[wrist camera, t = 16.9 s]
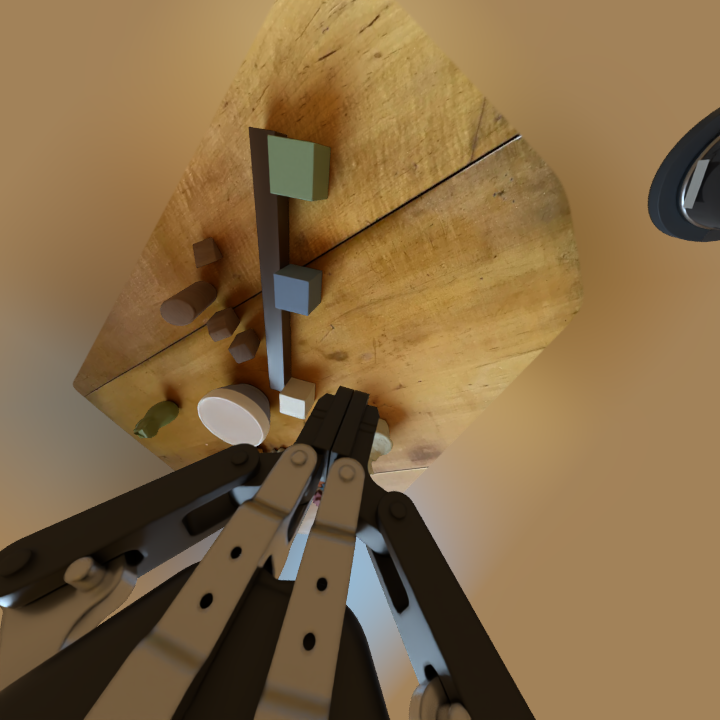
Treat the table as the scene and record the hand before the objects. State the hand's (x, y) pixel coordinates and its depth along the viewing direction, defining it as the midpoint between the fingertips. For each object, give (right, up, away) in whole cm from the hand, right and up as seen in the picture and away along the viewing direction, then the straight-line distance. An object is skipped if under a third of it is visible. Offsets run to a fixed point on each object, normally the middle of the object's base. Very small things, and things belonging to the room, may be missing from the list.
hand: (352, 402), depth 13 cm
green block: (-6, +25, +18) cm, 31 cm away
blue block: (-8, +14, +27) cm, 31 cm away
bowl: (-24, -6, +45) cm, 51 cm away
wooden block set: (-22, +12, +32) cm, 41 cm away
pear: (-47, -9, +54) cm, 73 cm away
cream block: (-11, -4, +40) cm, 41 cm away
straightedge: (-12, +13, +28) cm, 33 cm away
